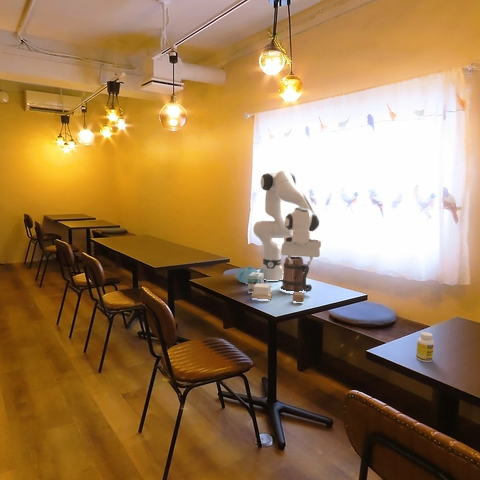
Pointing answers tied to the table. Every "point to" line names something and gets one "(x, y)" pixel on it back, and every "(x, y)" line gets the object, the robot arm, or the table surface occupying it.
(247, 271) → the teapot
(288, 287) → the tankard
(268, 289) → the off-white middle block
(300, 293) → the walnut block
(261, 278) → the light bulb box
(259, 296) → the oak base block
